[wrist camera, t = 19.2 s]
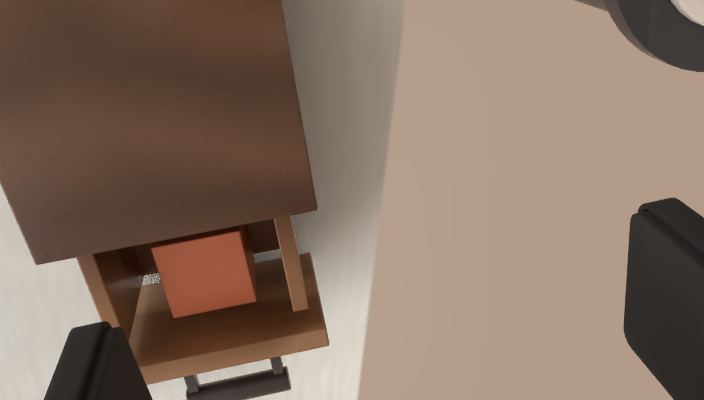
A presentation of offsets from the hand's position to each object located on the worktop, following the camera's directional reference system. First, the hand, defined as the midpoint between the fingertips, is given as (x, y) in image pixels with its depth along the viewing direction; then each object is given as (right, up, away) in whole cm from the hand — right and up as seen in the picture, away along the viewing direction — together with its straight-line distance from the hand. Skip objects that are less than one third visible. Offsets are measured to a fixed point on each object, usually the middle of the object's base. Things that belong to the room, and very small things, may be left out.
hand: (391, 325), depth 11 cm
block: (-9, 0, +25) cm, 27 cm away
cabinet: (-11, +11, +22) cm, 27 cm away
